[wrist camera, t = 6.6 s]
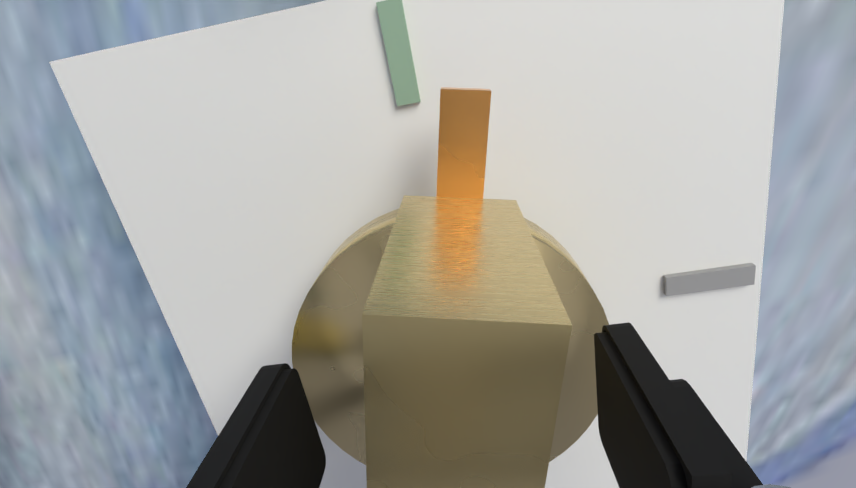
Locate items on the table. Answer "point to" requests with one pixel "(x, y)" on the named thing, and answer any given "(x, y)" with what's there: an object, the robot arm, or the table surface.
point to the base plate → (418, 161)
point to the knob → (451, 332)
